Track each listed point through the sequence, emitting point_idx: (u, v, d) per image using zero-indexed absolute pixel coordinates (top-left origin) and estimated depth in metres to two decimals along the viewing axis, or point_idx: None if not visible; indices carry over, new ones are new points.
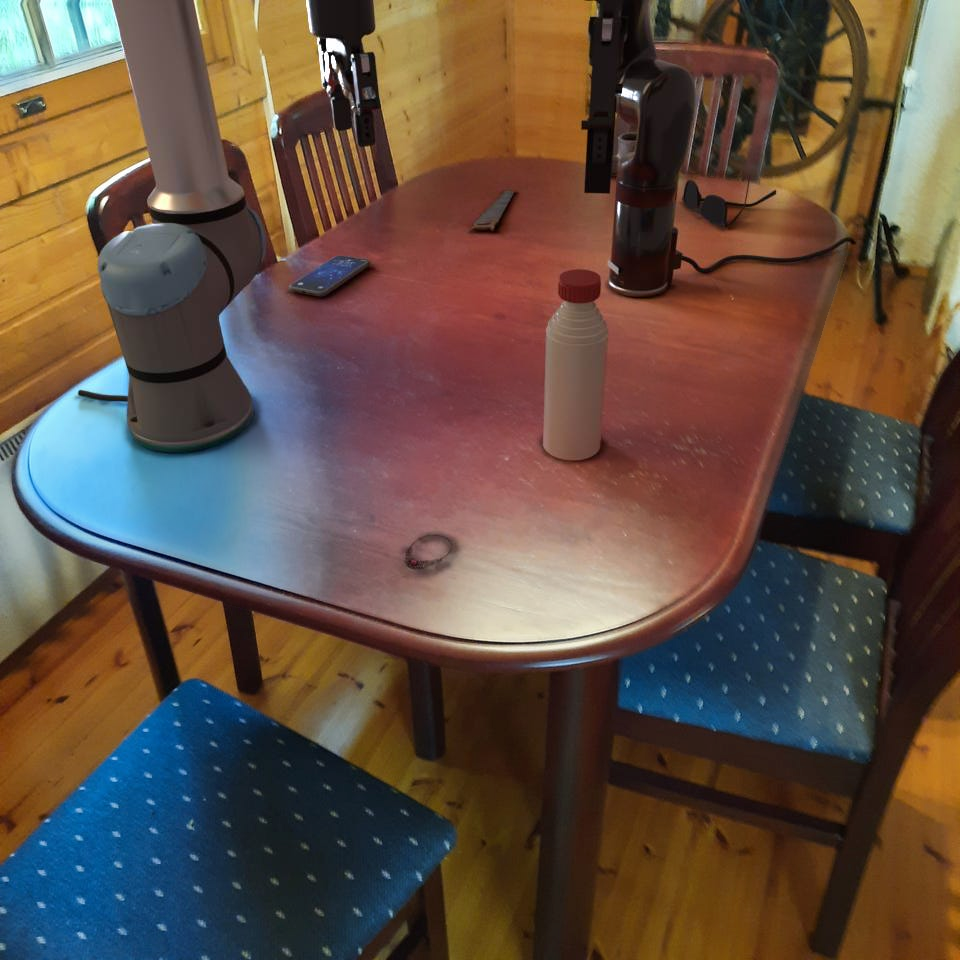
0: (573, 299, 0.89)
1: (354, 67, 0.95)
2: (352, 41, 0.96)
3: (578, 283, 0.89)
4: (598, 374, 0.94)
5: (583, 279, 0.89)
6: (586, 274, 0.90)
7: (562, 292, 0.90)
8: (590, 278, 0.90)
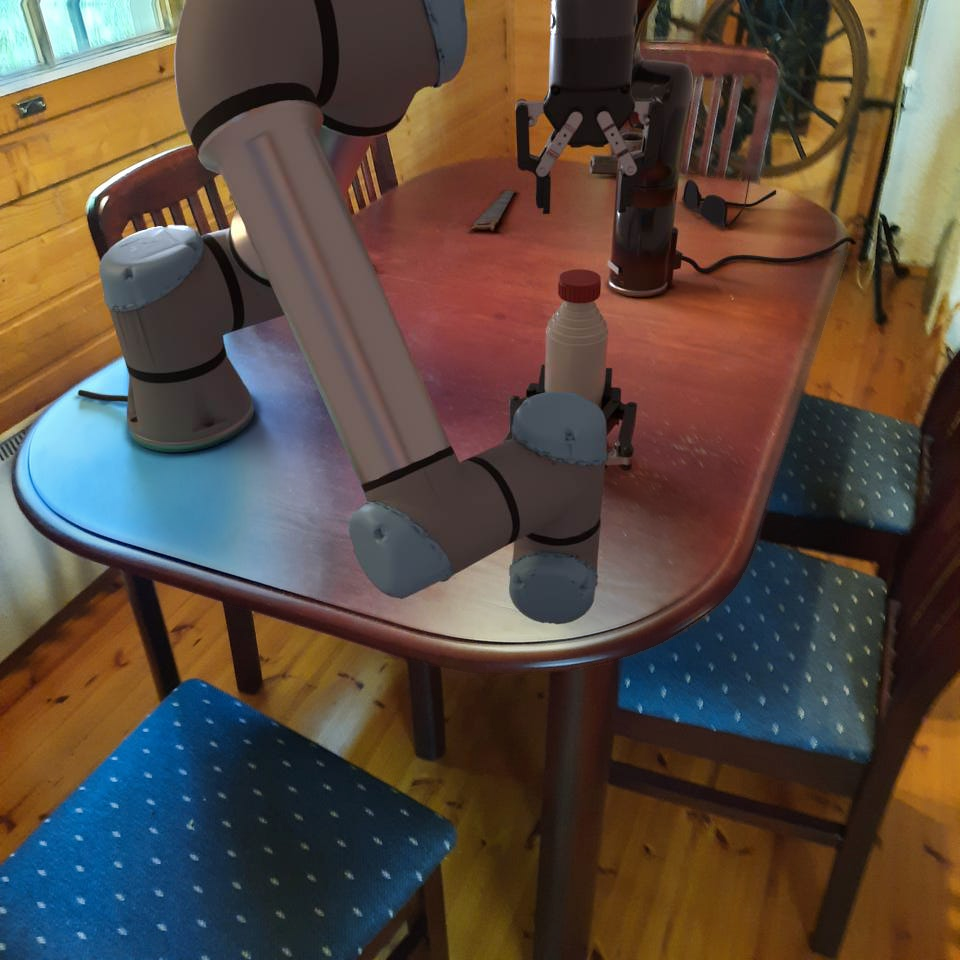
0: (573, 299, 0.89)
1: (658, 117, 0.79)
2: None
3: (578, 283, 0.89)
4: (598, 374, 0.94)
5: (583, 279, 0.89)
6: (586, 274, 0.90)
7: (562, 292, 0.90)
8: (590, 278, 0.90)
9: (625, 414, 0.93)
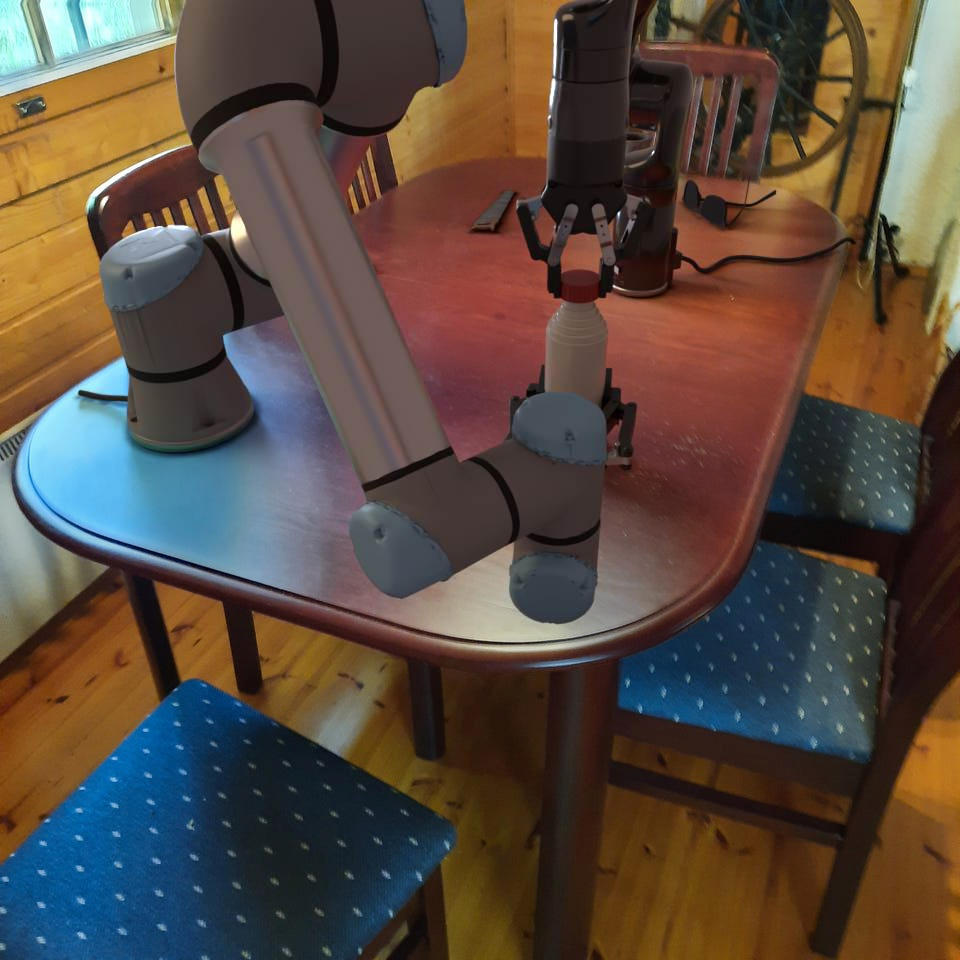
0: (573, 299, 0.89)
1: (645, 217, 0.85)
2: None
3: (578, 283, 0.89)
4: (598, 374, 0.94)
5: (583, 279, 0.89)
6: (586, 274, 0.90)
7: (562, 292, 0.90)
8: (590, 278, 0.90)
9: (625, 414, 0.93)
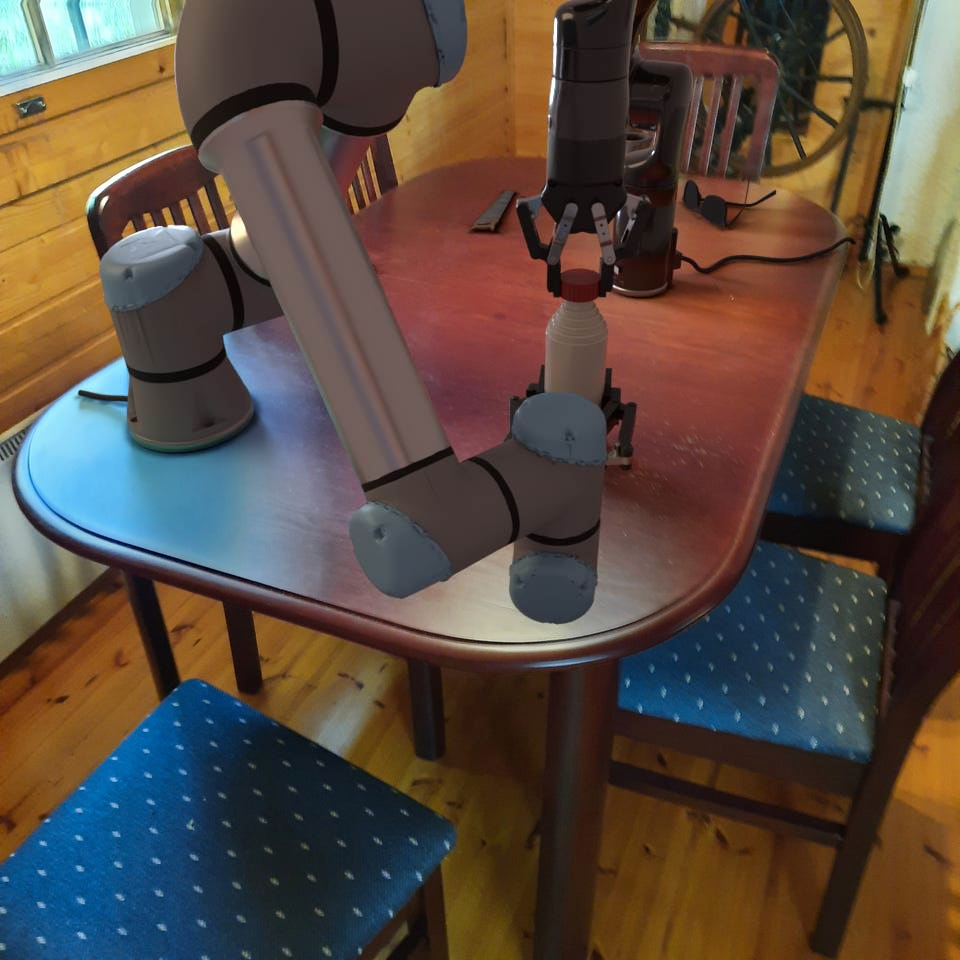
0: (599, 292, 0.90)
1: (645, 216, 0.85)
2: None
3: (595, 276, 0.90)
4: (598, 374, 0.94)
5: (584, 274, 0.90)
6: (571, 274, 0.90)
7: (593, 293, 0.89)
8: (580, 272, 0.91)
9: (625, 414, 0.93)
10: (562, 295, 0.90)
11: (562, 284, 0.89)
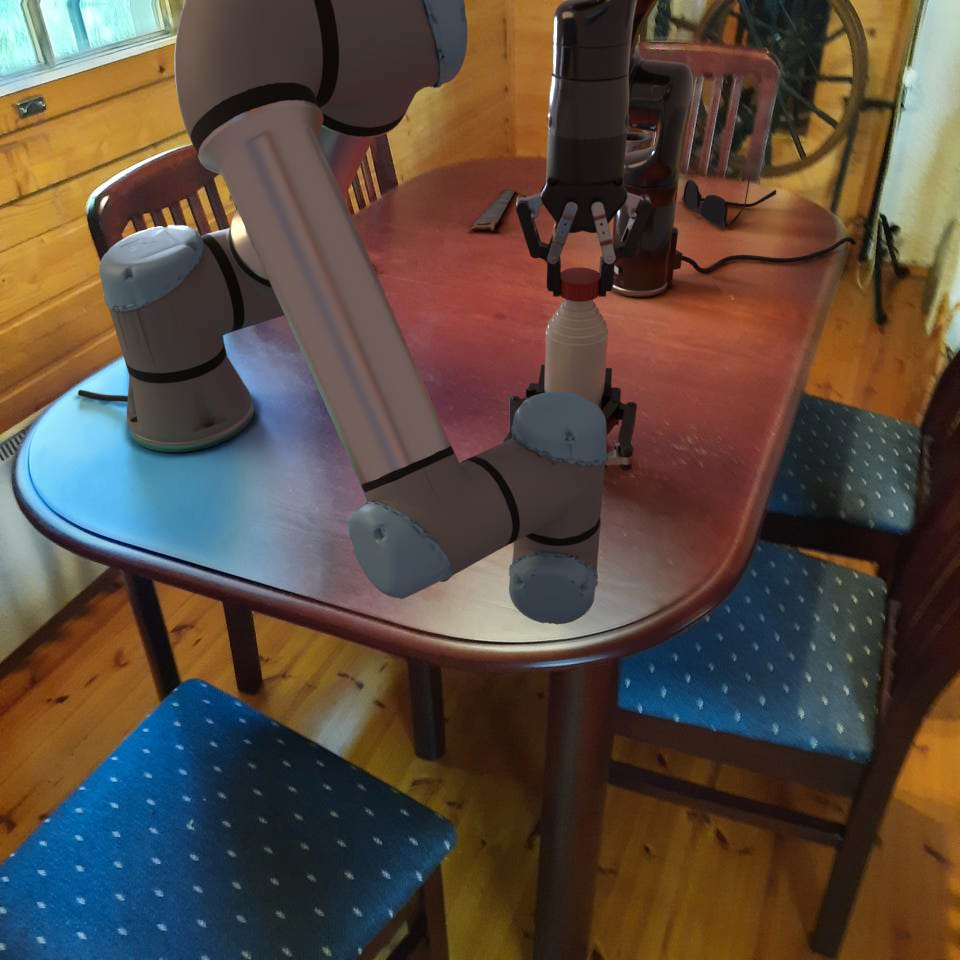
0: None
1: (645, 215, 0.84)
2: None
3: (576, 269, 0.91)
4: (598, 374, 0.94)
5: (574, 274, 0.90)
6: (576, 279, 0.89)
7: None
8: (569, 276, 0.90)
9: (625, 414, 0.93)
10: (594, 295, 0.89)
11: (593, 285, 0.89)
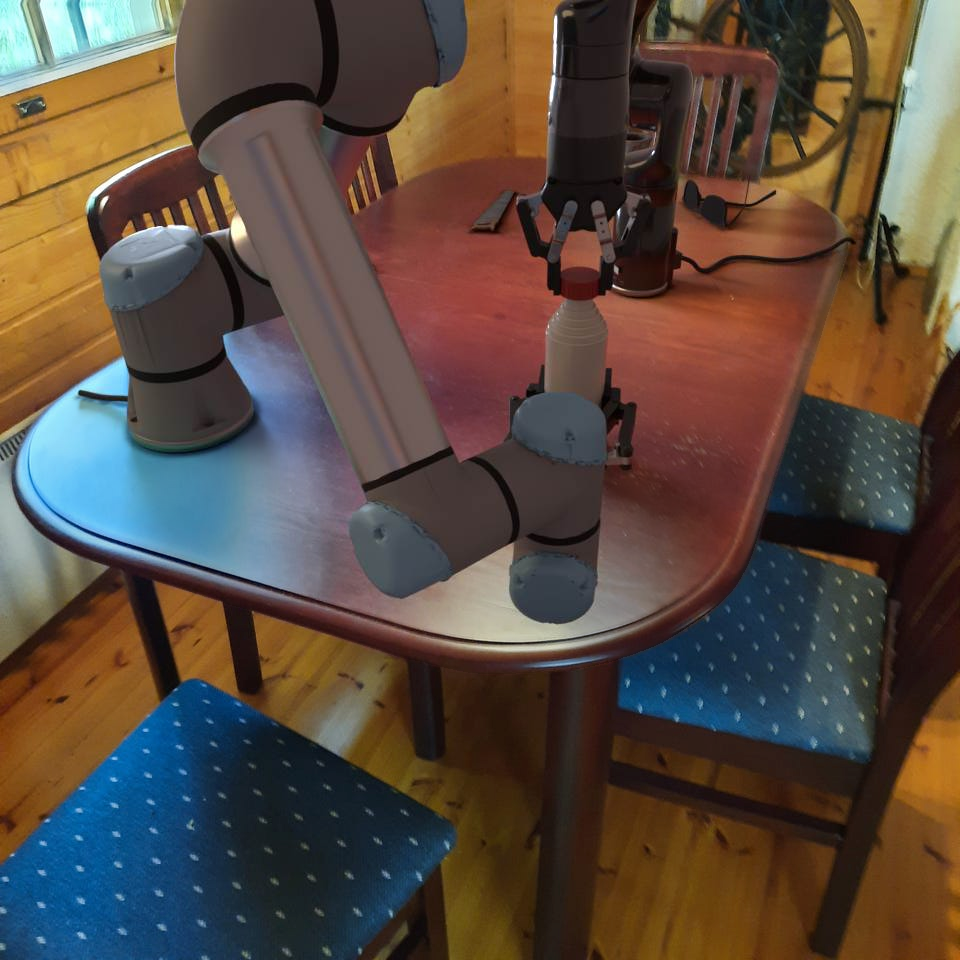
0: None
1: (645, 215, 0.84)
2: (623, 178, 0.83)
3: (566, 276, 0.89)
4: (598, 374, 0.94)
5: (577, 276, 0.89)
6: (589, 275, 0.89)
7: None
8: (583, 278, 0.89)
9: (625, 414, 0.93)
10: None
11: None
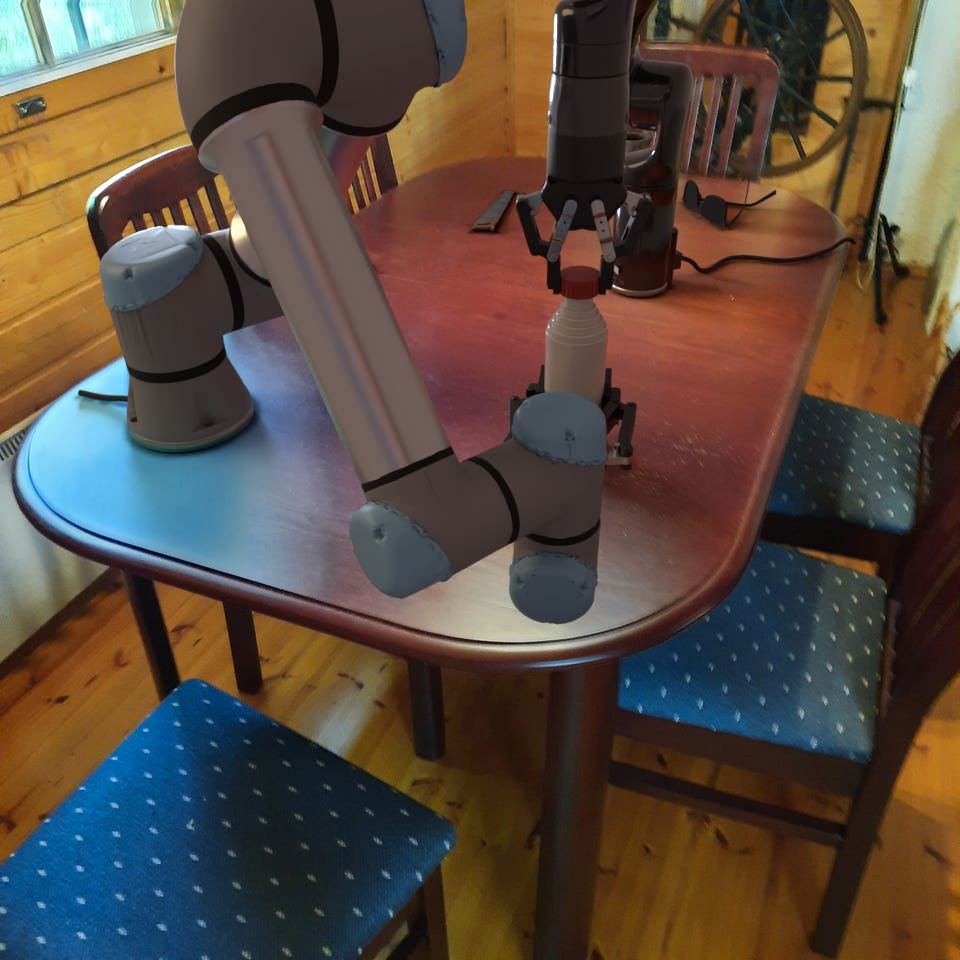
0: (587, 296, 0.89)
1: (645, 214, 0.84)
2: (623, 177, 0.83)
3: (588, 278, 0.88)
4: (598, 374, 0.94)
5: (585, 274, 0.89)
6: (580, 269, 0.90)
7: (573, 292, 0.89)
8: (589, 271, 0.90)
9: (625, 414, 0.93)
10: None
11: None
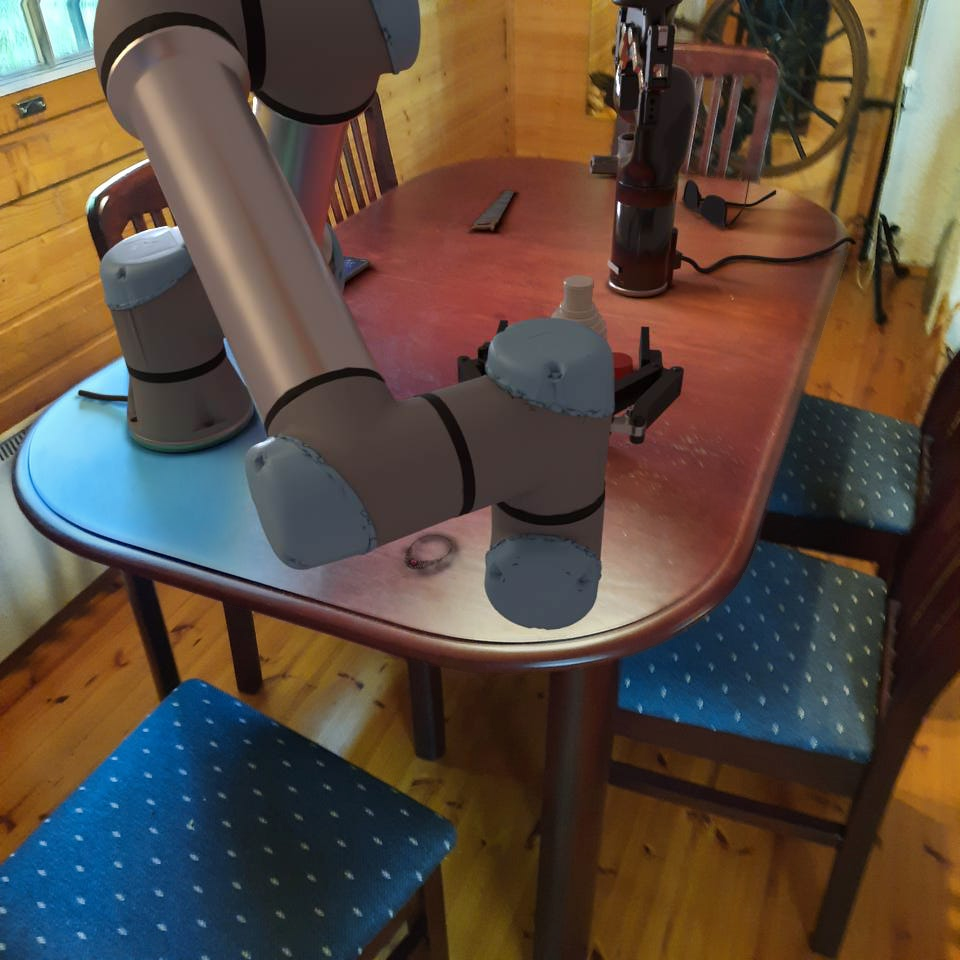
0: None
1: None
2: None
3: (624, 356, 1.16)
4: None
5: (616, 357, 1.15)
6: None
7: (631, 368, 1.15)
8: None
9: (662, 378, 0.74)
10: None
11: None
